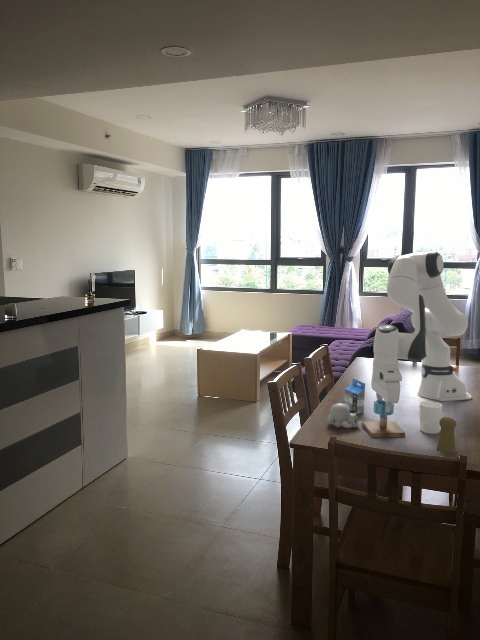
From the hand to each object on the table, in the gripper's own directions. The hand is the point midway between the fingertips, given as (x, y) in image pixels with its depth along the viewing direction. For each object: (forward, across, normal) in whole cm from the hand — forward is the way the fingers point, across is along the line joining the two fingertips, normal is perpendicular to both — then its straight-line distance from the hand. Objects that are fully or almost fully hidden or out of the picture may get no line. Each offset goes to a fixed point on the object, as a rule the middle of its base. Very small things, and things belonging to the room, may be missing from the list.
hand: (383, 408), depth 194 cm
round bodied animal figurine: (+9, -6, -13) cm, 17 cm away
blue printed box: (+9, -24, -4) cm, 26 cm away
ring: (+2, 0, 0) cm, 2 cm away
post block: (+9, 0, 0) cm, 9 cm away
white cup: (+9, 0, +17) cm, 20 cm away
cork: (+9, +19, +15) cm, 26 cm away
